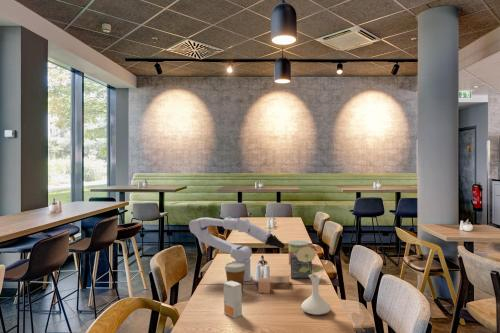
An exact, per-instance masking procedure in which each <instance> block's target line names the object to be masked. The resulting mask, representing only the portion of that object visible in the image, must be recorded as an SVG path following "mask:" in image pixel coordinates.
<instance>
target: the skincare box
mask: <svg viewBox="0 0 500 333" xmlns="http://www.w3.org/2000/svg"><path fill="white" fill-rule="evenodd" d="M242 293H243V290H242V285H241V284H240V283H237V282H234V281H228V282H227V281H226V282H223V313H224V314H225V315H227V316H229V317H232V318H233V319H236V318H238V317H240V316H242V315H243V305H242V304H243V302H242V301H243V298H242V297H243V296H242Z"/></svg>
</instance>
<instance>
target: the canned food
mask: <svg viewBox="0 0 500 333" xmlns="http://www.w3.org/2000/svg"><path fill="white" fill-rule="evenodd" d="M303 247H305V248H306V247H308V248H309V242H308V241H306V240H291V241H290V240H289V242H288V265H289V266H291V255H296V254H298V251H299V250H300V249H303Z"/></svg>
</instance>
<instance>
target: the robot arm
mask: <svg viewBox="0 0 500 333" xmlns="http://www.w3.org/2000/svg"><path fill="white" fill-rule="evenodd" d="M209 226H213V227H214V226H217V227H223V229H225V230H233V231H238V232H239V233H245V234H246V235H248V236H250V237H252V238H254V239H256V240H258V241H259V242H261V243H263V244H264V245H267V246H268V245H269V246H270V247H276V248H278V249H279V248H280V249H283V250H284V249H285V246H286V244H285V243H284V242H282V240H280V239H279V238H278V237H277V235H275V234H274V235H273V234H272V230H268V231H267V230H265V229H263V228H262V227H260V226H258V225H256V224H254V223H252V222H250V220H249V219H248V218H245V217H243V218H240V217H236V218H235V217H234V218H233V217H231V216H226V217H225V218H223V219H220V218H213V217H206V216H205V217H202V216H201V217H199V218H196V219H192V220H190V221H189V223H188V228H189V231H190V233H191V234H194V236H195V237H196V238H197V239H198V240H199V241H200V242H201V243H203V244H206V245H208V246H211V247H213V248H214V249H217V250H219V251H222V252H223V253H227V254H229V255H230V258H233V260H232V261H231V262H241V263H244V264H245V267H246V268H245V271H244V280H243V282H251V281H252V278H253V275H252V274H251V257H252V254H253V250H252V248H251V247H250V246H248V245H241V244H234V243H232V242H230V241H227V240H225V239H222V238H220V237H217V236H215V235H213V234H210V233H209Z"/></svg>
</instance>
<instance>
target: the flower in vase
mask: <svg viewBox="0 0 500 333" xmlns="http://www.w3.org/2000/svg"><path fill="white" fill-rule="evenodd" d="M296 256H297V258H298V260H299V261H303V262H308V261H311V260H312V261H313V260H314V259H315V258H316V257H317V252H316V250H315V248H312V247H311V246H308V247H306V248H305V247H303V249H300V250H299V251H298V254H296ZM308 268H309V264H308ZM308 268H306V267H302V268H301V269H299V271H300V272H307V271H308V270H310V268H309V269H308ZM321 269H322V266H318V267H316V268H315V267H314V269H312V271H311V270H310V271H311V273H312V274H310V275H309V277H310V279H309V280H310V281H311V286H312V291H311V295H310V296H309V297H307V298H306V299H305V300H304V301H303V302H302V303H301V305H300V308H301V310H302V311H303V312H305V313H307V314H310V315H324V314H327V313H329V312H330V311H331V309H332V308H331V304H330V303H329V302H328V301H327V300H325V298H323V297H322V296H321V295H320V293H319V285H320V281H321V278H322V277H323V275H321V274H318V273H319V272H320V270H321Z"/></svg>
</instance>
